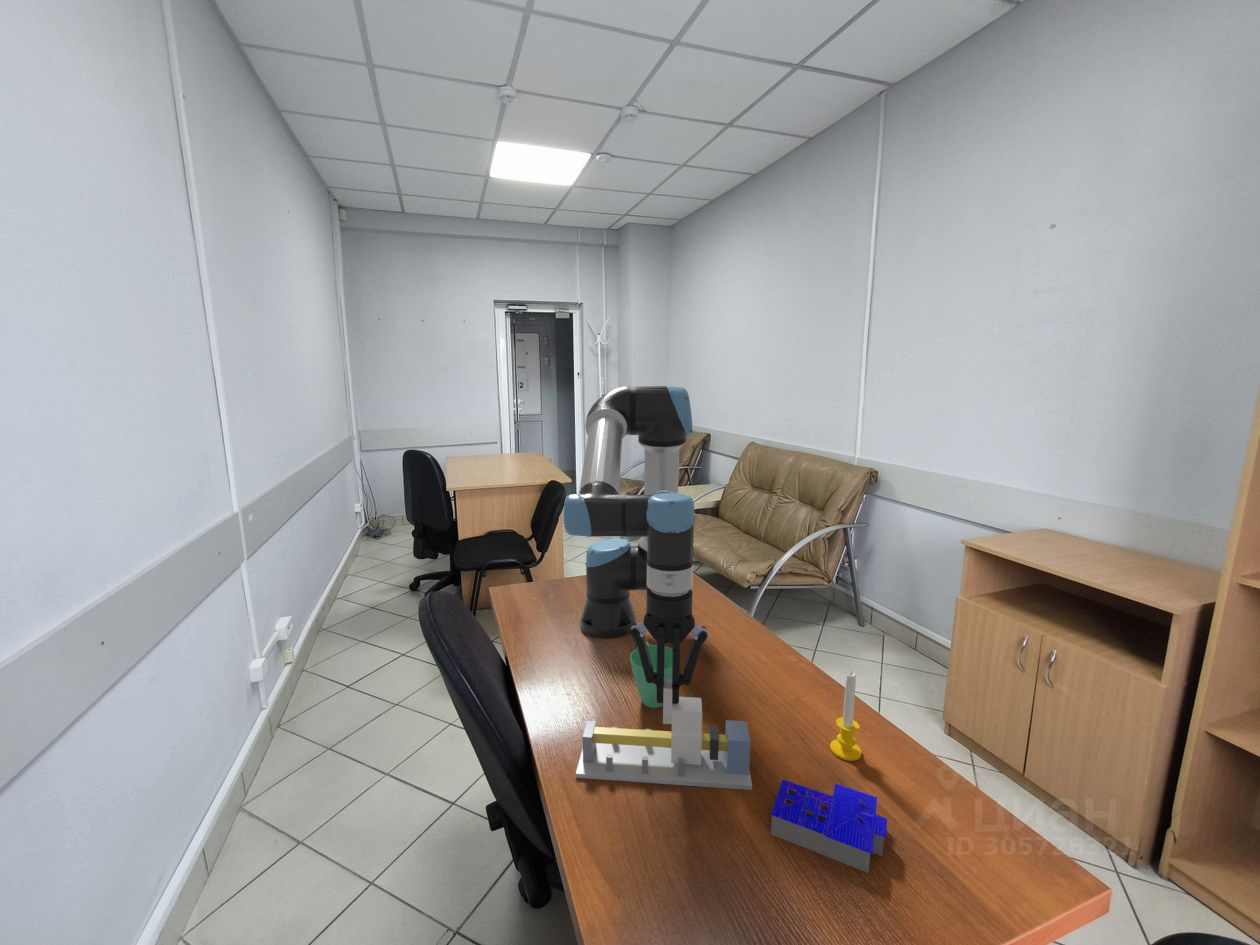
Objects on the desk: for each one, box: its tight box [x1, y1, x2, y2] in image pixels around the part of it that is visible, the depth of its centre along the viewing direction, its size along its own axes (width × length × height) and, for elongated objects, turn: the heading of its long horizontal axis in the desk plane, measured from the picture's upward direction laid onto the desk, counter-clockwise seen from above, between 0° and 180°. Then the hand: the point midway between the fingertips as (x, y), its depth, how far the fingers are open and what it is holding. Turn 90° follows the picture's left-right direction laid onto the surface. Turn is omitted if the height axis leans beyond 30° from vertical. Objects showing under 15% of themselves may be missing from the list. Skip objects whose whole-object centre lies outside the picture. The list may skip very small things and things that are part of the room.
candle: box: [829, 670, 863, 762], centre depth 94 cm, size 5×5×16 cm
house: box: [770, 779, 888, 874], centre depth 78 cm, size 11×15×5 cm
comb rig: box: [575, 719, 753, 791], centre depth 91 cm, size 29×10×7 cm, turn 85°
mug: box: [629, 640, 673, 709], centre depth 111 cm, size 15×10×10 cm
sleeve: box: [671, 696, 703, 765], centre depth 91 cm, size 5×5×9 cm
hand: (667, 718), depth 91 cm, fingers closed
